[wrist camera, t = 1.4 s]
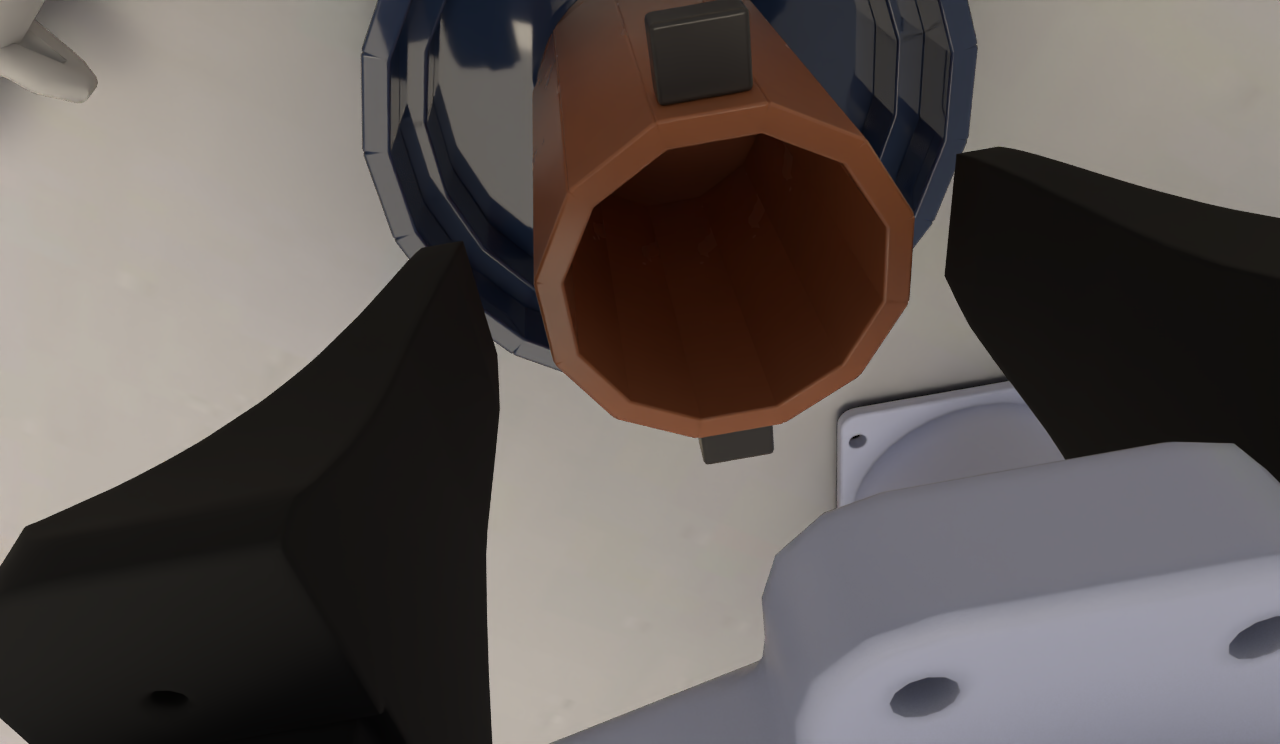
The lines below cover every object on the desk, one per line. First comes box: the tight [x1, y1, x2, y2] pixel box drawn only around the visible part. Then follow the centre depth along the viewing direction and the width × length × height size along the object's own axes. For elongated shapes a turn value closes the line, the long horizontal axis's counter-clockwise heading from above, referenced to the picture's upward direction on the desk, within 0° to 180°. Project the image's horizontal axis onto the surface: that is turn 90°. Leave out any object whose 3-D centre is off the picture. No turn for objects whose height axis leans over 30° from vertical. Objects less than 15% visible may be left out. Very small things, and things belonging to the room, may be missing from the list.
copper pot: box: [532, 0, 915, 464], centre depth 15 cm, size 7×5×8 cm
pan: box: [361, 0, 978, 372], centre depth 17 cm, size 11×11×3 cm
